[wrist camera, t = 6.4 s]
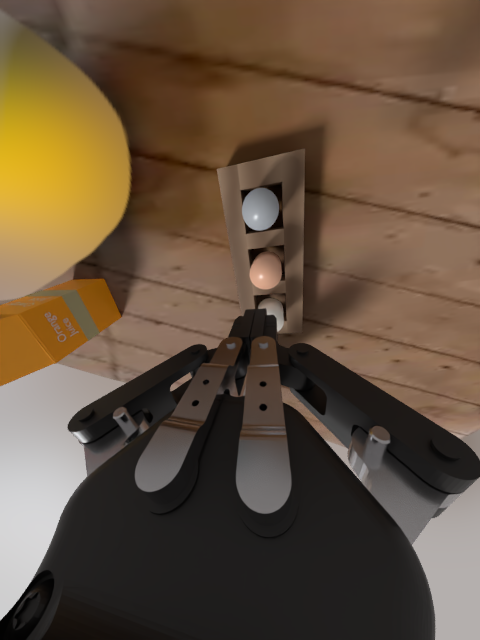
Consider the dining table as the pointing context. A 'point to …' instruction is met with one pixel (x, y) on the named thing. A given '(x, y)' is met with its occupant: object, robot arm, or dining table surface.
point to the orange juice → (52, 325)
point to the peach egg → (266, 270)
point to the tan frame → (291, 235)
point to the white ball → (273, 310)
